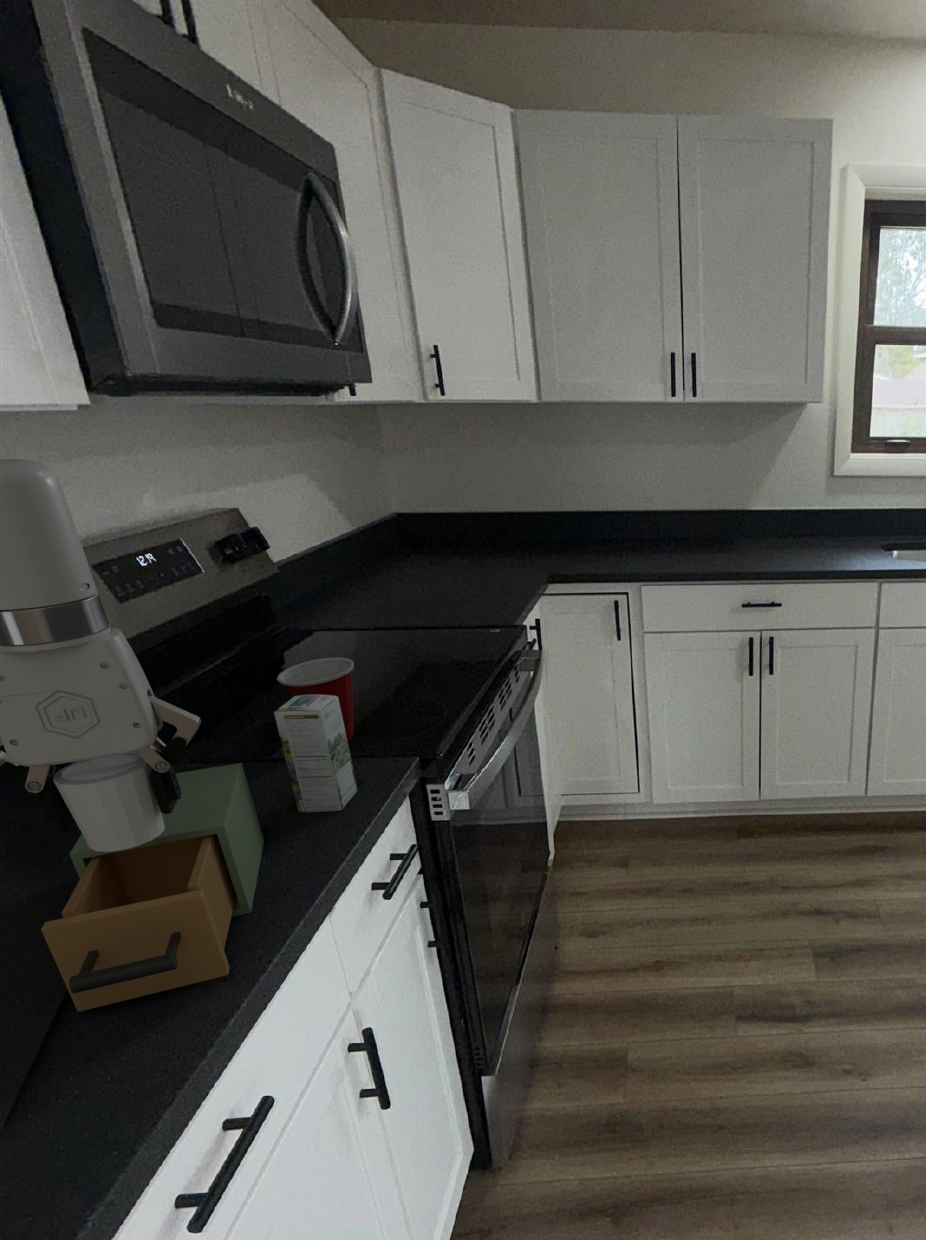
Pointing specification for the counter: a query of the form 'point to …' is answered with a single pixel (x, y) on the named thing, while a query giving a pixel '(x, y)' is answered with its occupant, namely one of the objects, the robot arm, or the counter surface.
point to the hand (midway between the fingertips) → (120, 814)
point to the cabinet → (209, 826)
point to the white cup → (112, 801)
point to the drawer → (144, 922)
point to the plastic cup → (323, 683)
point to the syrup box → (316, 752)
